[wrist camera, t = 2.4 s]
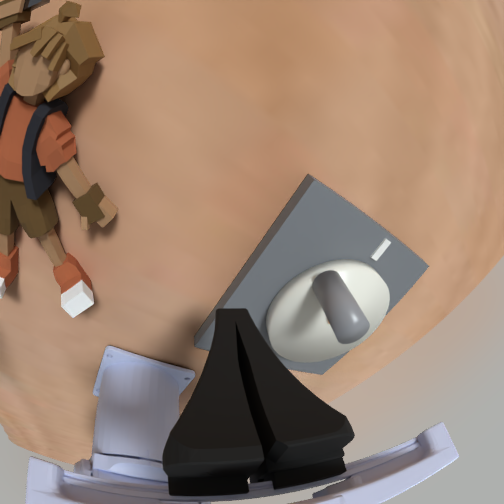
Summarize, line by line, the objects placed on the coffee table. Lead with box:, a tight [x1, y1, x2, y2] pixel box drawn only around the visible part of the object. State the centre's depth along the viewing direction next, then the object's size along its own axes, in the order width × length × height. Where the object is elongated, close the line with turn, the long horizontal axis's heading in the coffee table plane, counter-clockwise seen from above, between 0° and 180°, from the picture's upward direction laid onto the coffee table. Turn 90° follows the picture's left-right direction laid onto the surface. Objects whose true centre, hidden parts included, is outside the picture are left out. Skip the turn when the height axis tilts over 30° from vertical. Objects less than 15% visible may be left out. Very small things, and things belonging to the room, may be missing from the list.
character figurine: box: [0, 0, 118, 318], centre depth 10 cm, size 10×18×4 cm, turn 162°
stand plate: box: [194, 174, 429, 375], centre depth 20 cm, size 14×13×1 cm
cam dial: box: [266, 259, 390, 363], centre depth 17 cm, size 9×9×5 cm
